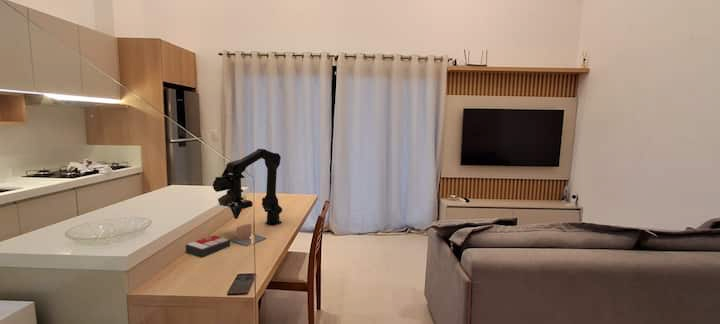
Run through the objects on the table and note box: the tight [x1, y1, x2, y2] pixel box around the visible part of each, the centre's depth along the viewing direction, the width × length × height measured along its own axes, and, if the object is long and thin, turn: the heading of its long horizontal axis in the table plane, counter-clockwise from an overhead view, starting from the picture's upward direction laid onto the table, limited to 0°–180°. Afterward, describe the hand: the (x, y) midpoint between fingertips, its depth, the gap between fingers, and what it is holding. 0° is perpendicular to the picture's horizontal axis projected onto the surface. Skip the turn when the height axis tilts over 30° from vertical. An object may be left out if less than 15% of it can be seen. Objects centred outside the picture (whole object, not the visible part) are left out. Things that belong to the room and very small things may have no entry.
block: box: [236, 223, 252, 240], centre depth 164 cm, size 7×2×6 cm, turn 147°
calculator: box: [185, 235, 231, 258], centre depth 151 cm, size 11×4×15 cm
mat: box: [228, 233, 267, 247], centre depth 164 cm, size 12×13×1 cm
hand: (236, 218), depth 167 cm, fingers closed
